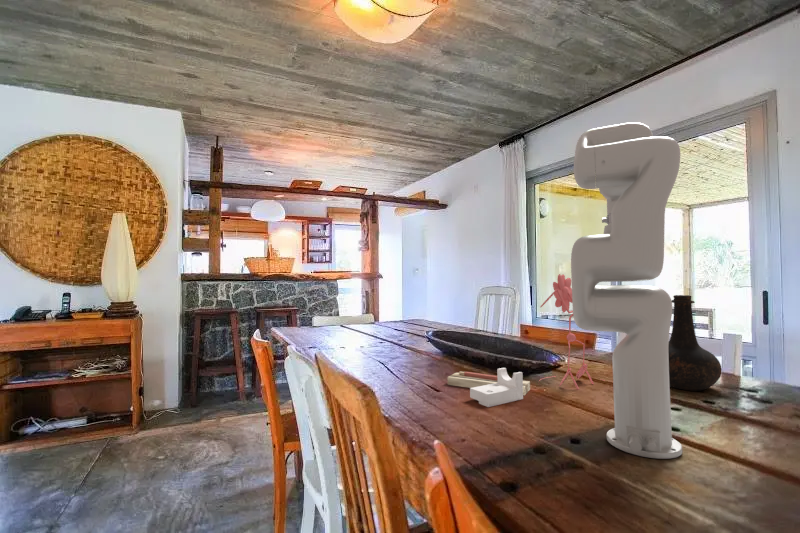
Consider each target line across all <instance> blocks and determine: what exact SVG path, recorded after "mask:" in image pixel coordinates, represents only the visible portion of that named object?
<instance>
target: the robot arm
mask: <svg viewBox="0 0 800 533" xmlns="http://www.w3.org/2000/svg"><path fill="white" fill-rule="evenodd" d="M680 165H681V148H680V144H679V143H678V141H677V140H676V139H674V138H672V137H669V136H654V135H653V132H652V130H651V128H650V127H649V126H648V125H646V124H644V123H641V122H624V123H620V124H619V123H618V124H613V125H607V126H602V127H597V128H596V127H595V128H591V129H588V130H586V131H584V132H583V133H582V134H581V135H580V136H579V138H578V139H577V141H576V145H575V150H574V159H573V176H574V180H575V182H576V184H577V186H579V187H580V188H581V189H585V190H595V189H596V190H597V189H598V190H599V193H600V195H602V197H604V198H605V199H606V213H607V214H606V216H605V217H602V218H601V223H603V224H606V225H604V228H603V234H590V235H585V236H581V237H579V238H577V240H575V241H574V243H573V245H572V248H571V253H570V255H571V256H570V273H571V278H570V279H571V289H572V303H571V304H572V310H573V312H572V314H573V316H572V317H573V320H574V323H575V324H576V326H577V327H578V328H579V329H581V330H584V331H590V332H591V331H593V332H610V333H622V334H623V333H624V334H626V335H625V336H624V338H623V339H622V340H620V342H619V343H617V344H616V346H615V348H614V350H613V353H612V356H611V357H612V381H613V383H612V384H613V386H612V387H613V411H614V412H613V413H614V428H611V429H609V430H608V431H607V432H606V440H607V442H608V443H609V444H610V445H612V446H613V447H615V448H616V449H618V450H620V451H623V452H625V453H627V454H628V453H629V454H631V455H634V456H639V457H644V458H647V459H648V458H650V459H659V460H660V459H662V460H664V459H665V460H667V459H675V458H678V457H680V456H681V455H683V445H682V444H681V443H680V442H679V441H678V440H676V439H675V438H673V435H672V433H673V432H672V411H671V410H672V409H671V389H670V383H669V353H668V345H669V340H670V330H671V323H672V322H671V321H672V314H673V303H672V298H671V296H670V294H669V293H668V292H667V291H666V290H665V289H664V288H663V289H662V288H661V287H657V286H654V285H648V284H647V285H646V284H617V285H616V284H615V285H614V284H613V285H602V284H601V285H598V284H599V283H604V282H605V283H607V282H608V283H609V282H610V283H611V282H612V283H614V282H615V283H616V282H620V283H621V282H643V281H645V282H647V281H652V280H655V279H657V278H658V277H659V276H660V275H661V273H662V270H663V266H664V260H665V258H664V257H665V224H666V223H665V219H666V217H665V214H666V207H667V204H668V200H669V197H670V195H671V192H672V190H673V188H674V185H675V183H676V180H677V177H678V174H679V170H680Z"/></svg>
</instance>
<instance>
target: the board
mask: <svg viewBox="0 0 800 533" xmlns="http://www.w3.org/2000/svg"><path fill="white" fill-rule="evenodd" d="M494 383H498V381H497V380H491V379H484V378H477V377H470V376H464V375H461V374H459V372H454V373H453V374H451V375H449V376H447V385H448V386H454V387H462V388H469V389H470V388H473V387H478V386H483V385H488V384H494ZM530 390H531V381H530V380H523V396H526V395H527V394H528V392H530Z"/></svg>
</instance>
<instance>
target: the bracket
mask: <svg viewBox="0 0 800 533" xmlns="http://www.w3.org/2000/svg"><path fill="white" fill-rule="evenodd" d="M496 371H497V372H496V373H497V375H496V376H497V378H498V383H494V384H488V385H483V386H478V387H473V388H469V398H471V399H473V400H475V401H478V404H479V405H481V406H485V407H487V408H491V407H495V406H499V405H502V404H503V405H504V404H508V403H512V402H515V401H520V400H524V395H523V381H524V379H523V378H524V377H523V376H524V375H523V373H524V372H522V371H518V372H513V373H512V377H510V376H509V374H508V371H507V368H506V367H501V368H500V367H499V368H497V370H496Z"/></svg>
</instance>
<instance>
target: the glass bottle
mask: <svg viewBox="0 0 800 533" xmlns="http://www.w3.org/2000/svg"><path fill="white" fill-rule="evenodd" d="M672 297H673V299H671V301H672V304H673V320H672V330H671V334H670V336H669V345H668V353H669V383H670V387H671V388H674V389H677V390H683V391H691V392H692V391H695V392H696V391H697V392H698V391H704V390H707V389H709V388H711V387H712V386H714V385H715V384H716V383H717V382H718V381H719V380H720V378H721V377H722V370H723V369H722V364H721V362H720V360H719V359H718V358H717V356H715V355H714V354H713V353H712V352H710V351H708V350H706V349H704V348H703V347H701V345H700V344H699V343H698V340H697V335H696V332H695V326H694V318H693V317H694V316H693V307H692V304H695V303H696V301H694V300H692V296H691V295H688V294H685V295H683V294H675V295H673V296H672Z"/></svg>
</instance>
